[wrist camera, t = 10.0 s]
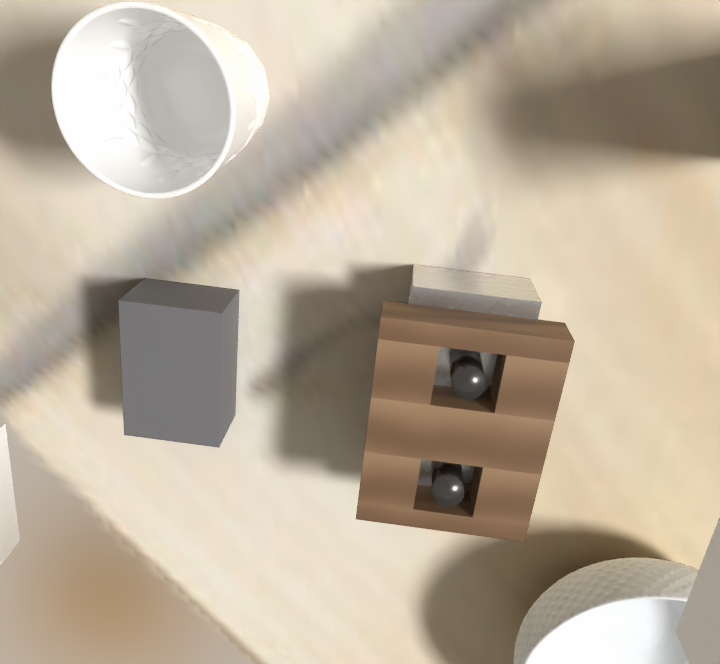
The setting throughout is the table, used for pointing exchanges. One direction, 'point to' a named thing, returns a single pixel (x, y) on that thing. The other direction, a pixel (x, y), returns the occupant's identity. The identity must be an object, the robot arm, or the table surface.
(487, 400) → the board
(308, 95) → the table surface
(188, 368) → the riser
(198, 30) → the white cup
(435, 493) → the chassis
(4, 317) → the table surface
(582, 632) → the cereal bowl
